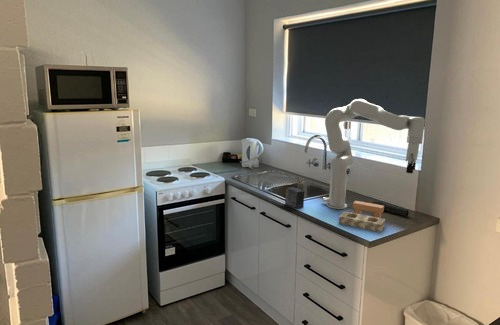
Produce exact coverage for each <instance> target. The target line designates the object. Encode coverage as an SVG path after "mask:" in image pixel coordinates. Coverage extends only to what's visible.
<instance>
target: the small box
mask: <svg viewBox="0 0 500 325" xmlns="http://www.w3.org/2000/svg"><path fill="white" fill-rule="evenodd" d="M284 202H285V205H286V206H288V207H291V208H293V209H301V207H302V208H304V204H305V190H302V189H300V188H297V187H294V186H291V187H286V188H285V201H284Z"/></svg>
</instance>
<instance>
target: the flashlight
mask: <svg viewBox="0 0 500 325" xmlns="http://www.w3.org/2000/svg"><path fill="white" fill-rule="evenodd" d="M372 204H377V205H383V206H384V211H386V212H389V213H392V214H396V215H401V216H403V217H408V216H409V209H407V208H402V207H401V206H400V207H399V206H395V205H391V204H387V203H385V202H383V201H379V200H373V201H372Z"/></svg>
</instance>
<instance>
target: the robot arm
mask: <svg viewBox="0 0 500 325" xmlns="http://www.w3.org/2000/svg"><path fill="white" fill-rule="evenodd" d="M358 116H359V117H363V118H366V119H368V120H370V121H373V122H375V123H377V124H379V125H382V126H383V127H387V128H389V129H393V130H394V131H395V130H396V131H402V130H406V129H407V136H406V143H407V148H406V156H405V161H406V162H407V165H406V171H405V172H406V174H413V173H414V171H415V170H416V164H417V162H416V161H417V159H418V156H419V151H420V150H419V149H420V145H422V144H423V140H424V139H423V137H424V130H425V121H426V119H425V118H424V117H422V116H409V115H403V114H401V115H397V114H394V113H392V112H388V111H387V110H384V108H383V107H381V106H380V105H376V104H375V103H370V102H368V101H367V100H365V99H363V98H358V99H357V98H356V99H353V100H352V101H351V102H350V103H349V104H347V105H345V106H342V107H341V106H340V107H336V108H333V109H331V110H330V111H329V112H327V114H326V116H325V119H324V126H325V130H326V131H325V132H326V135H327V136H326V137H327V140H328V141H327V142H328V147H329V150H330V152H331V153H333V154H336V156H333V157H332V159H331V162H330V181H329V182H330V183H329V194H328V195H329V196H328V197H327V196H326V197H324V196H323V197H322V201H323V202H326V203H325V206H326V207H328V208H330V209H334V210H346V209H347V207H348V204H347V203H346V196H347V195H346V193H347V192H346V191H347V181H348V174H347V170H348V169H349V168H351V166H352V165H353V163H354V161H353V160H354V159H353V158H354V157H353V152H352V147H351V143H350V141H349V139H348V138H347V137H345V136H343V135H342V134H343V133H342V128H341V126H340V123H341V122H346V121H349V120H352V119H355V118H356V117H358Z"/></svg>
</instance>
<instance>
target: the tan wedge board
mask: <svg viewBox="0 0 500 325" xmlns="http://www.w3.org/2000/svg"><path fill="white" fill-rule="evenodd" d="M352 209H354V212H353V213H356V214H362V210H363V211H366V212H373V213H374V215H373V217H377V218H382V213H384V211H385V210H384V206H383V205H377V204H373V202H372V203H371V202H365V201H359V200H354V202H353V203H352Z"/></svg>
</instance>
